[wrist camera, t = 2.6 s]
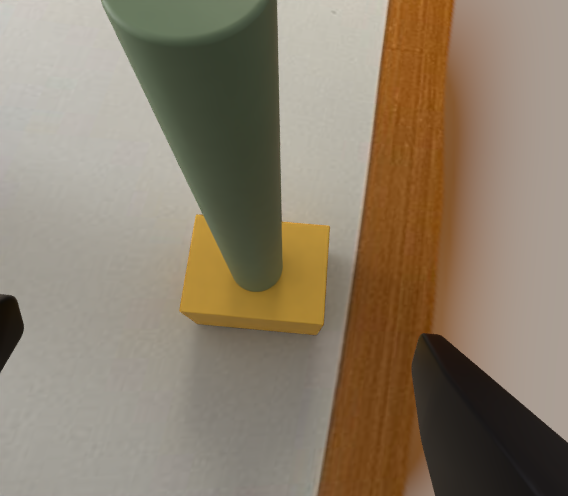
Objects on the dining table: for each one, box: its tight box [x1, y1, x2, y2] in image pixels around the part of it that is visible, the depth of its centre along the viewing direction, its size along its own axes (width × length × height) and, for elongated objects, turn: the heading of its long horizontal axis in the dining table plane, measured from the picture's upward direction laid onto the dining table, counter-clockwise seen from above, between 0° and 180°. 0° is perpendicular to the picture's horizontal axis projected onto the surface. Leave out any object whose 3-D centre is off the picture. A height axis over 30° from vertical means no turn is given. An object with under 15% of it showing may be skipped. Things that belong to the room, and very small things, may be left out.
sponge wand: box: [101, 0, 330, 335], centre depth 13 cm, size 4×6×17 cm
